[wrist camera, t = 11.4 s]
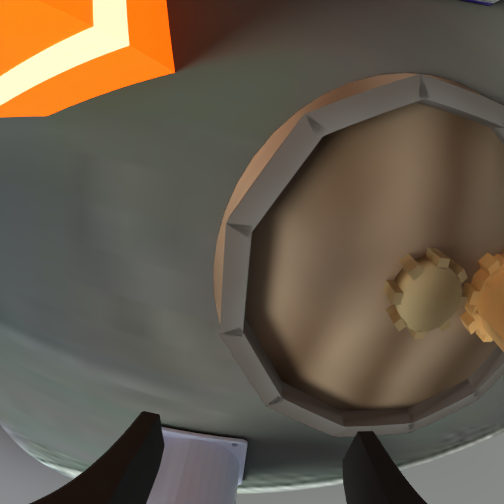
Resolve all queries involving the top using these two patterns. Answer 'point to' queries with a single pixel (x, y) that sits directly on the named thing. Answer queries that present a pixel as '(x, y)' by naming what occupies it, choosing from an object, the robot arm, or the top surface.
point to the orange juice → (78, 51)
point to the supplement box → (483, 1)
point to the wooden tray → (366, 256)
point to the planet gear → (486, 300)
